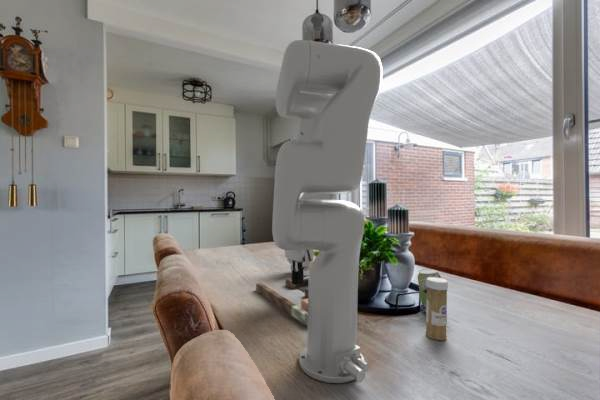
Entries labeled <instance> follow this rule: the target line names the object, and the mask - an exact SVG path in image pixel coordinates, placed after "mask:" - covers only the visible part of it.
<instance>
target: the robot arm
mask: <svg viewBox="0 0 600 400" xmlns="http://www.w3.org/2000/svg"><path fill="white" fill-rule="evenodd" d="M281 62H282V63H281V67H280V71H279V75H278V81H277V85H276V91H275V92H276V93H275V109H276V112H277V115H279V117H281V118H288V119H297V120H299V123H298V130H297V131H298V132H297V137H296V139H290V140H287V141H285V142H284V143H283V144H282V145H281V146H280V148H279V150H278V152H277V156H276V162H275V170H274V185H273V186H274V187H273V188H274V189H273V204H272V223H271V224H272V226H271V232H272V238H273V242H274V243H275V246H276V247H277V248H279V249H281V250H283V251H284V256H285V259H287V262H288V263H289V264H290V271H291V270H293V271H292V274H291V279H292V284H294V285H298V284H303V279H304V276H303V271H304V270H305V267H307V266H309V261H312V260H313V263H312V265H311V267H310V270H309V275H308V277H307V278H308V298H307V299H308V327H307V338H306V339H307V345H306V346H305V347H303V348H302V349H301V350H300V353H299V354H298V356H299V357H298V363H299V364H298V365H299V366H300V368H301V370H302V371H303V372H304V373H305V374H306V375H308V377H311V378H313V379H315V380H316V381H317V380H318V381H320V382H325V383H332V384H342V383H343V384H344V383H348V382H351V381H354V380H355V381H356V382H358V383H362V382H363V381H364V379H365V377H366V372H368V371H369V369H370V368H371V367H370V364H369V363H368V362H367V361H365V357H364V355H363V354H362V352H361V348H362V347H360V346H359V345H357V344H358V343H357V342H358V301H359V299H358V295H359V293H358V291H359V290H358V289H359V266H360V265H359V264H360V263H359V262H360V254H361V247H362V242H363V238H364V233H365V232H364V231H365V216H364V213H363V211H362V209H361V208H360V206H359V205H357V204H355V203H353V202H351V201H347V200H343V199H335V196H336V195H339V194H340V195H343V194H349V193H353V192H355V191H356V190H358V188H359V186H360V184H361V182H362V177H363V173H364V163H365V155H366V148H367V142H368V133H369V131H368V130H369V125H370V124H369V123H370V118H371V114H372V111H373V108H374V106H375V103H376V100H377V98H378V96H379V92H380V88H381V85H382V82H383V65H382V62H381V58H380V57H379V55H377V53H376V52H374V51H371V50H370V49H367V48H362V47H359V46H351V45H344V44H339V43H338V44H337V43H329V42H323V41H322V42H321V41H314V40H308V39H307V40H305V39H299V40H298V39H296V40H293V41H291V42H290V43H289V44H288V45H287V47H286V48H285V51H284V54H283V58H282V61H281ZM314 251H319V253H317V255H316V257H314Z"/></svg>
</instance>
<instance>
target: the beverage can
mask: <svg viewBox="0 0 600 400" xmlns="http://www.w3.org/2000/svg"><path fill="white" fill-rule="evenodd" d="M429 277H437V278H441V277H442V276H441V275H440V273H439V272H438V270H436V269H422V270H419V271H418V275H417V284H418V289H419V294H420V295H419V297H420V303H421V309H422V311H423V312H424V313H426V299H427V286H426V279H427V278H429Z"/></svg>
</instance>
